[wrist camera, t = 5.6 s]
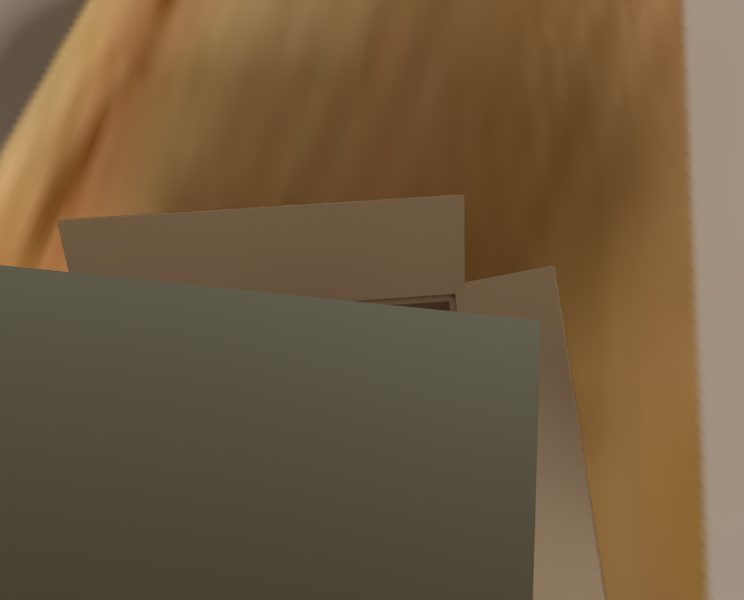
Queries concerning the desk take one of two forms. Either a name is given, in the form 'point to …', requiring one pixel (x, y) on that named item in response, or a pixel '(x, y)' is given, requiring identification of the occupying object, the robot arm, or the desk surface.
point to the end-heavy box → (260, 445)
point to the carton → (380, 286)
